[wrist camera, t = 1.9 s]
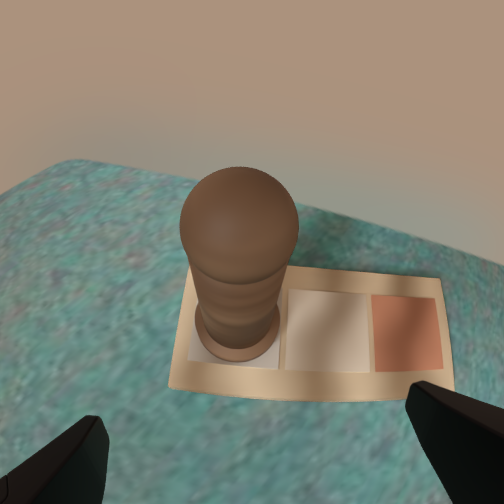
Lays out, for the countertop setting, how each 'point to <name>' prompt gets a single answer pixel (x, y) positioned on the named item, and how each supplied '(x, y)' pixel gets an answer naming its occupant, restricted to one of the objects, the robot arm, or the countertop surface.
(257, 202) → the pawn
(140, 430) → the countertop surface
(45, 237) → the countertop surface
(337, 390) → the board
